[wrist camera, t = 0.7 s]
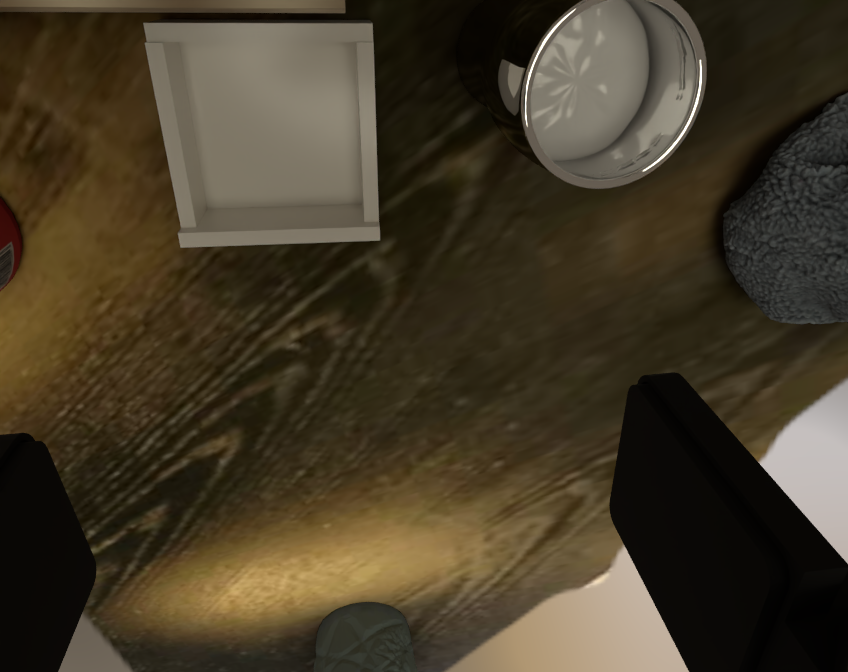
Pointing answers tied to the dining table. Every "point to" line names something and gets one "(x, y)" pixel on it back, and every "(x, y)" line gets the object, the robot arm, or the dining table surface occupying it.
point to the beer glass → (586, 82)
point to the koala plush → (797, 225)
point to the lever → (175, 6)
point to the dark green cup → (364, 640)
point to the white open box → (268, 129)
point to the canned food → (8, 245)
